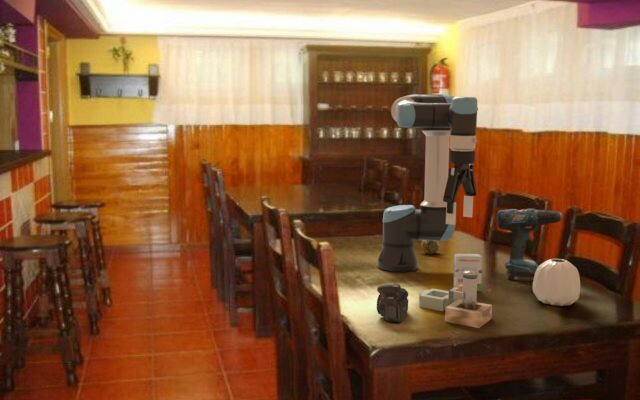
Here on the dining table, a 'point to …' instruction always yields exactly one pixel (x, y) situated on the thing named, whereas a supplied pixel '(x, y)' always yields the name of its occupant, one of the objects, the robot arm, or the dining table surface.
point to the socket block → (438, 298)
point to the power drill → (523, 237)
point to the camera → (392, 302)
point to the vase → (557, 282)
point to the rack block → (468, 314)
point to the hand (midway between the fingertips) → (459, 220)
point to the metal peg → (469, 289)
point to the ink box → (467, 267)
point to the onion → (430, 246)
